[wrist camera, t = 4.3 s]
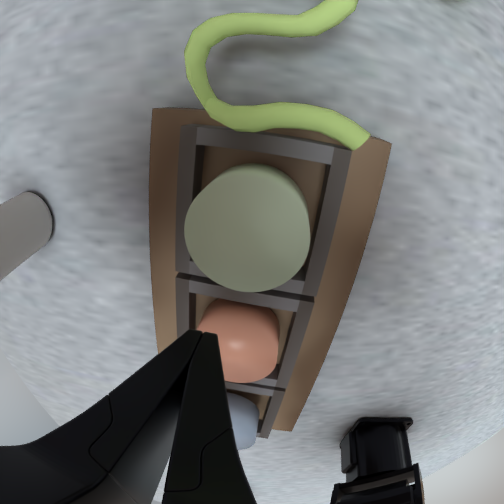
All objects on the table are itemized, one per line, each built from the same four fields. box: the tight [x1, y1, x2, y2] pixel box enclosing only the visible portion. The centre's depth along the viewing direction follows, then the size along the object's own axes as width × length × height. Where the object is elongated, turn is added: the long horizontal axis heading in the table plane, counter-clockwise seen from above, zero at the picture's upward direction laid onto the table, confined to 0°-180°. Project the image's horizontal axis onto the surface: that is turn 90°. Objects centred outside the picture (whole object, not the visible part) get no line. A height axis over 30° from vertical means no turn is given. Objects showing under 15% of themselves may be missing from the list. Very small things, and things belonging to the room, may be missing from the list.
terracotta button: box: [197, 298, 280, 383], centre depth 18 cm, size 5×5×2 cm
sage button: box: [184, 163, 310, 292], centre depth 13 cm, size 5×5×2 cm
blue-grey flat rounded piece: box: [227, 392, 260, 450], centre depth 21 cm, size 5×5×2 cm
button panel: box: [149, 107, 392, 438], centre depth 19 cm, size 12×25×4 cm, turn 173°
